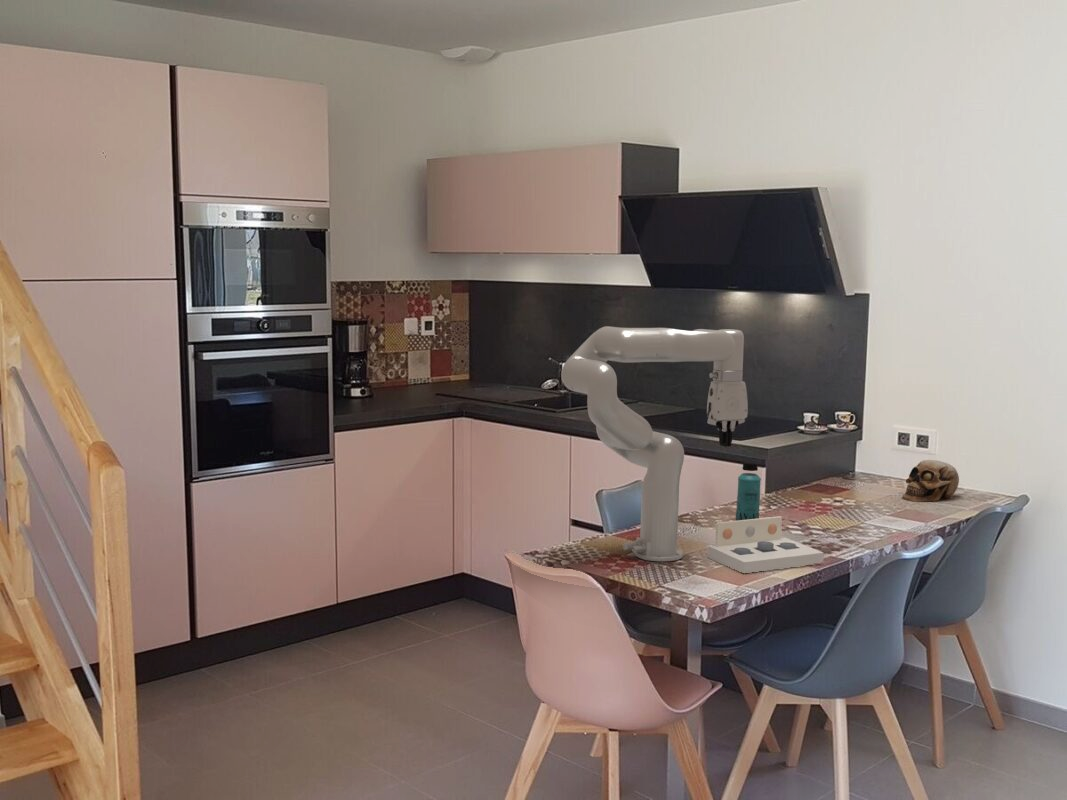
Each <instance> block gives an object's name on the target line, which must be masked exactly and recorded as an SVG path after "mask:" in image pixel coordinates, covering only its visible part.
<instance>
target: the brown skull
mask: <svg viewBox="0 0 1067 800" xmlns="http://www.w3.org/2000/svg"><path fill="white" fill-rule="evenodd" d="M905 483H906V484H907V486H906V490H905V493H903V494H902V497H901V498H902V500H905V501H909V502H917V503H918V502H921V503H922V502H927V503H928V502H929V503H930V502H932V503H933V502H934V503H937V502H938V501H939V500H940V499H941V500H942V499H943V500H944V499H946V500H947V499H950V498H951V497H952V496H953V495H954V494H955V493H956V491H957V489H959V483H960V475H959V474H958V471H957V469H956V468H955V466H953V465H951V464H950V463H949V462H948V463H947V462H945V461H941V460H937V459H935V460H933V459H924V460H921V461H920V462H919V463H917V465H916V466H914V467H912V469H911V471H910V473H909V474H908V478H906V479H905Z"/></svg>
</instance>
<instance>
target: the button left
mask: <svg viewBox="0 0 1067 800" xmlns="http://www.w3.org/2000/svg"><path fill="white" fill-rule="evenodd" d="M750 552H751V550H750V549H747V548H735V549H734V553H736V554H739V555H746V554H750Z"/></svg>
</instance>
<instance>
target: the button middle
mask: <svg viewBox="0 0 1067 800" xmlns="http://www.w3.org/2000/svg"><path fill="white" fill-rule="evenodd" d="M773 547H774V544H773V543H771V542H765V541H762V542H758V544H757V550H759V551H761V552H771V551H773Z"/></svg>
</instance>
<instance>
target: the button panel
mask: <svg viewBox="0 0 1067 800" xmlns="http://www.w3.org/2000/svg"><path fill="white" fill-rule="evenodd" d="M782 523H783V516H781V515H779V516H770V517H769V516H768V517H759V518H758V519H748V520H738V521H736V520H730V521H721V522H720V521H719V522H718V521H717V522H716V523H715V539H714V540H715V543H714V544H713V545H707V555H706V556H707V558H708V559H710V560H713V561H714V562H716V563H719V564H721V565H724V566H725V567H727V566H728V568H729V567H730V568H729V569H732V570H734V569H735V570H734V571H736V570H738V571H739V573H740V572H742V573H750V572H757V571H765V570H773V569H781V568H790V567H797V566H803V565H808V564H814V563H821V562H823V563H824V559H825V557H824V556H825V554H824V551H821V550H818V549H815V548H813V547H810V546H808V545H806V544H805V545H804V544H802V543H800V542H797V541H795V540H792V539H790V538H787V537H785V536H784V537H782V525H783V524H782ZM762 541H765V542H771V543H773V544H774V547H773V551H771V552H761V551H759V550H757V544H758V542H762ZM784 542H787V543H793V544H796V549H788V550H785V549H783V548H780V543H784ZM735 548H747V549H750V550H751V552H750V554H746V555H739V554H736V553H734V549H735ZM790 569H791V568H790ZM738 571H737V572H738ZM742 573H741V574H742ZM750 574H751V573H750Z"/></svg>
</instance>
